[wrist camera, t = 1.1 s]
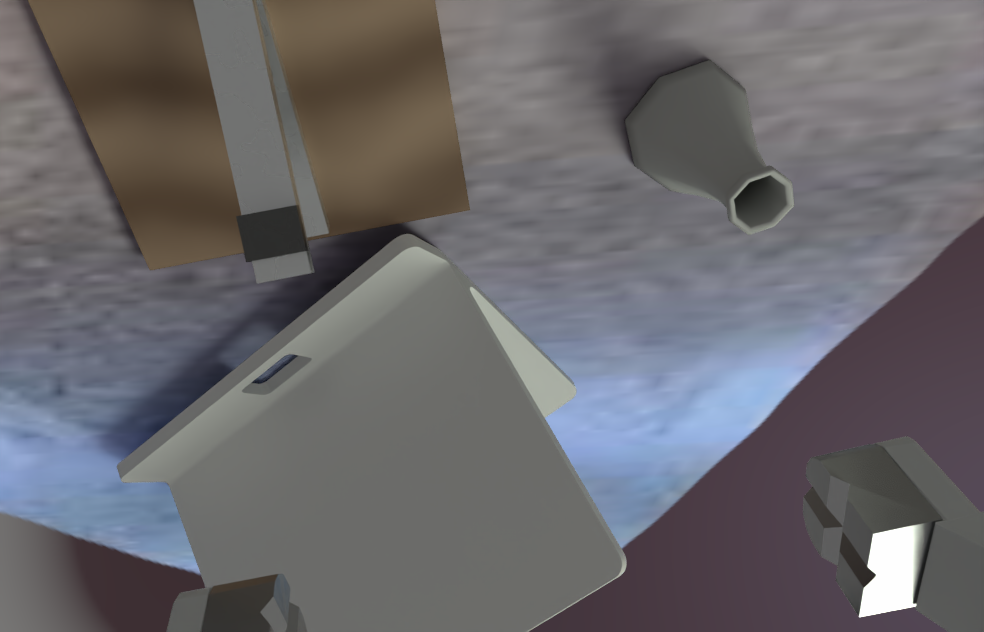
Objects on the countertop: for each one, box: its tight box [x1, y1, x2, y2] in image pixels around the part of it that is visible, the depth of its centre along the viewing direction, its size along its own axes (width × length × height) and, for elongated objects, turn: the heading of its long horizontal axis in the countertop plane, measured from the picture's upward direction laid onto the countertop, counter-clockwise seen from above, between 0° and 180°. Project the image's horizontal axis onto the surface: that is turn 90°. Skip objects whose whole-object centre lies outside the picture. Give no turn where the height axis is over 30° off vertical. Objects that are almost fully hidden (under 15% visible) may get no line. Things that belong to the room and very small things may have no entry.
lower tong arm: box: [256, 0, 330, 237], centre depth 37 cm, size 16×6×3 cm, turn 8°
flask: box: [625, 60, 794, 235], centre depth 40 cm, size 7×7×10 cm
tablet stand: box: [117, 234, 626, 632], centre depth 46 cm, size 18×25×17 cm
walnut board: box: [28, 0, 470, 270], centre depth 39 cm, size 18×18×1 cm
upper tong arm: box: [193, 0, 314, 284], centre depth 34 cm, size 16×4×2 cm, turn 7°
